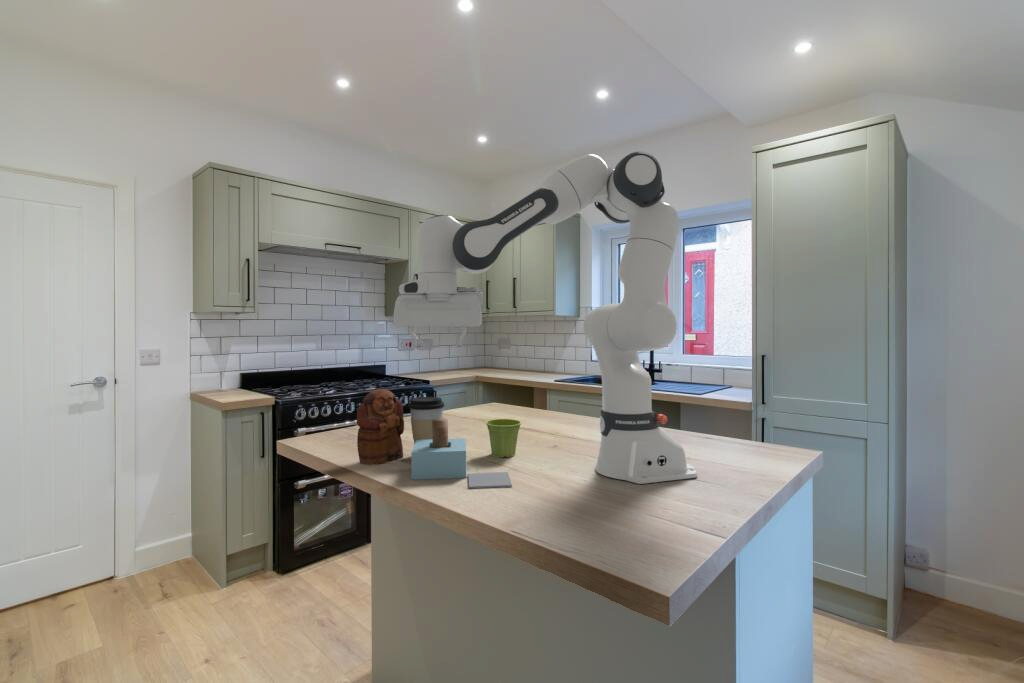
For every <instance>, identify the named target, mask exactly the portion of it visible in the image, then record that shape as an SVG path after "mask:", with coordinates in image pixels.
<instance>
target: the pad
mask: <svg viewBox="0 0 1024 683" xmlns="http://www.w3.org/2000/svg"><path fill="white" fill-rule="evenodd" d="M467 476H468V489H488V488H489V489H491V488H492V489H493V488H511V487H512V486H513V485H512V481H511V478H510V474H509V472H508V471H504V472H502V471H501V472H500V471H499V472H479V473H478V472H477V473H475V472H471V473H468V475H467Z"/></svg>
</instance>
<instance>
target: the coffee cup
mask: <svg viewBox="0 0 1024 683" xmlns="http://www.w3.org/2000/svg"><path fill="white" fill-rule="evenodd" d="M407 405H408V406H407V409H409V410H410V425H411V433H412V440H413V443H414V444H413V446H414V445H415V442H416V440H428V439H432V420H433V419H439V418H444V416H443V413H444V408H445V407H446V405H445V402H443V400H442V398H441V397H438V396H421V397H419V396H418V397H413V398H411V399H410V402H409V403H408V404H407Z"/></svg>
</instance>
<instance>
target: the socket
mask: <svg viewBox="0 0 1024 683" xmlns="http://www.w3.org/2000/svg"><path fill="white" fill-rule="evenodd" d="M466 439H467V438H448V448H433V439H428V440H416V442H415V445H414V444H413V448H412V450H411V452H410V453H411V454H410V455H411V480H431V479H434V480H436V479H438V480H439V479H460V478H461V479H463V478H467V445H466V444H467V443H466Z"/></svg>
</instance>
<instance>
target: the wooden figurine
mask: <svg viewBox="0 0 1024 683" xmlns="http://www.w3.org/2000/svg"><path fill="white" fill-rule="evenodd" d="M356 410H357V411H356V424H357V426H358V427H359V428H358V431H357V437H356V438H357V439H356V440H357V441H356V442H357V443H356V444H357V446H356V447H357V453H358V459H359V460H358V461H359V462H360V464H362V465H381V464H382V465H383V464H386V463H387V462H392V461H395V460H397V458H403V457H404V450H403V448H404V447H403V441H402V437H401V435H403V434H404V431H405V420H404V407H403V402H402V400H400V399H399V398H397V396H396V395H395V394H394V393H393V392H392V391H391V390H388V389H386V388H379V389H374V390H371V391H370V392H369V393H367V394H366V395H365V396H364V398H363V399H362V403H361V404H359V405H358V406H357V408H356Z"/></svg>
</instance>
